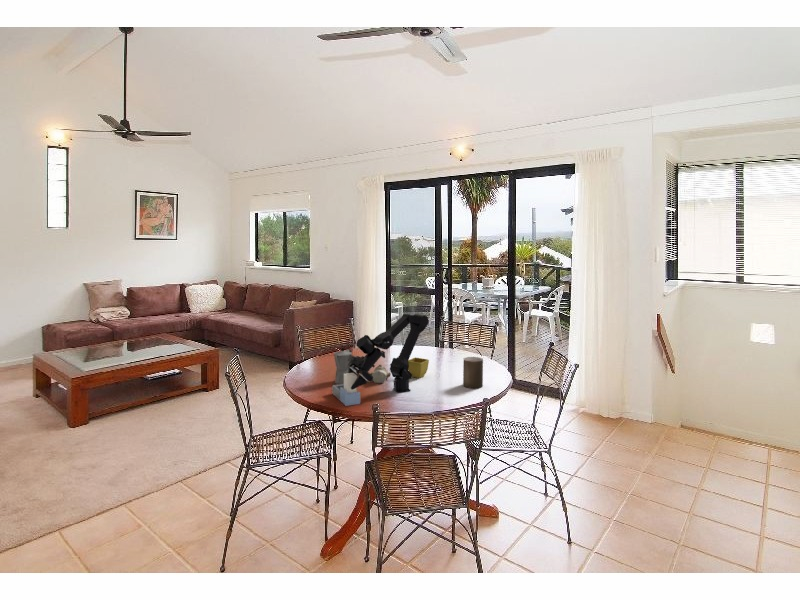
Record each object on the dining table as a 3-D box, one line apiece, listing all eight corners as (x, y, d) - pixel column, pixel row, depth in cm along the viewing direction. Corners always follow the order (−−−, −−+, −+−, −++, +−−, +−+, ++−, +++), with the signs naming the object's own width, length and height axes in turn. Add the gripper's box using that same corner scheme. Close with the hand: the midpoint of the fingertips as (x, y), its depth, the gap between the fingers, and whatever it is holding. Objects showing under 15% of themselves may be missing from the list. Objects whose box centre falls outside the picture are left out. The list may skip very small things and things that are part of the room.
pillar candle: (482, 389, 237) (482, 359, 235) (462, 388, 239) (462, 358, 237) (482, 383, 247) (483, 354, 245) (463, 382, 249) (464, 353, 247)
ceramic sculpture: (368, 367, 244) (371, 361, 259) (368, 384, 245) (371, 377, 260) (389, 367, 244) (391, 362, 258) (389, 385, 244) (391, 378, 259)
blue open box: (345, 391, 234) (345, 383, 233) (354, 398, 224) (354, 390, 223) (332, 393, 231) (332, 385, 230) (340, 400, 221) (340, 392, 220)
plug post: (353, 399, 223) (353, 372, 221) (356, 402, 219) (356, 375, 217) (344, 400, 221) (343, 373, 219) (347, 403, 217) (347, 376, 215)
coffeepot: (345, 386, 242) (345, 351, 239) (328, 384, 245) (328, 349, 243) (359, 378, 256) (358, 344, 253) (343, 376, 259) (342, 343, 257)
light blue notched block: (353, 397, 225) (353, 385, 224) (360, 403, 217) (360, 390, 216) (339, 399, 222) (339, 387, 221) (345, 405, 214) (345, 392, 213)
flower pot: (429, 375, 260) (429, 359, 259) (421, 379, 253) (421, 363, 252) (415, 373, 265) (415, 357, 264) (406, 377, 258) (406, 360, 256)
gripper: (351, 344, 227) (328, 370, 223) (366, 352, 210) (342, 380, 207) (367, 358, 231) (345, 384, 228) (383, 368, 214) (359, 396, 211)
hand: (347, 386), depth 218 cm, fingers open, 9 cm apart
